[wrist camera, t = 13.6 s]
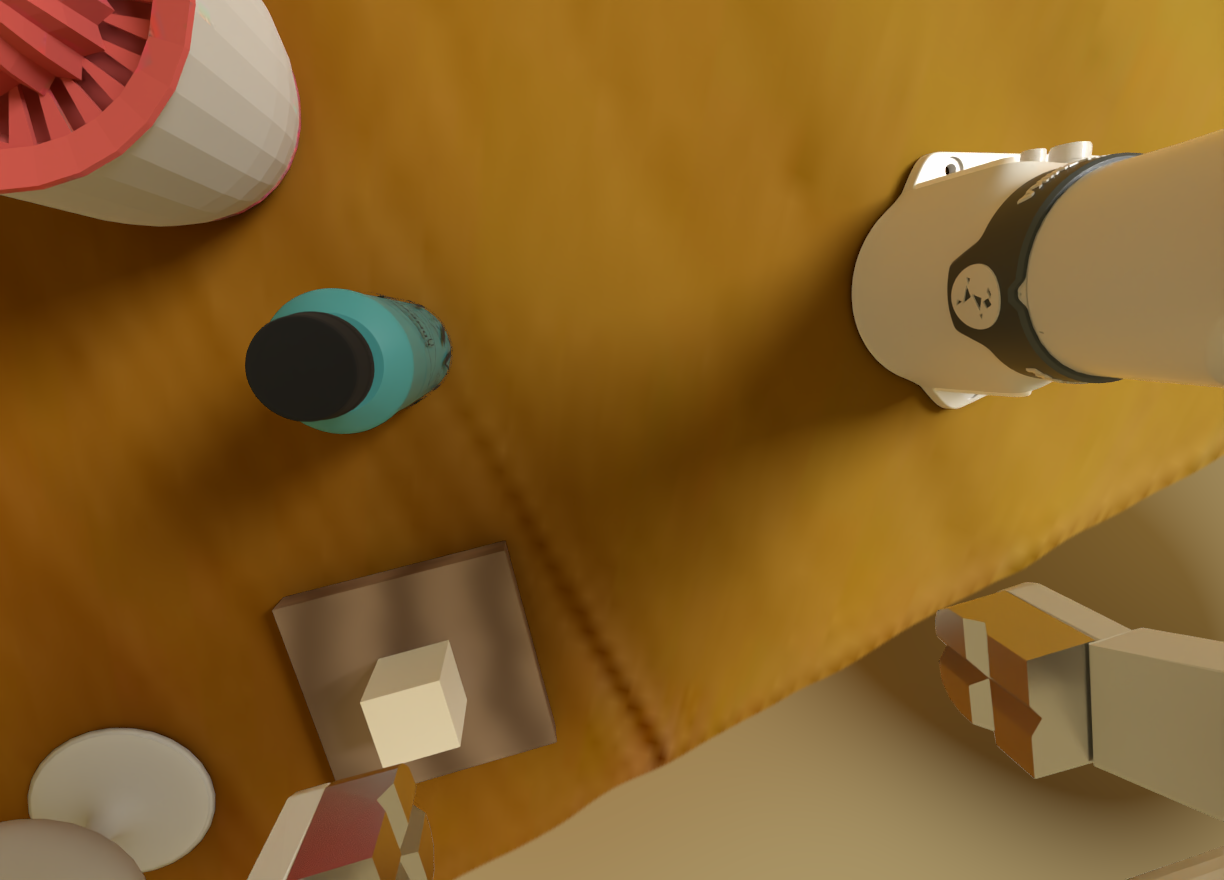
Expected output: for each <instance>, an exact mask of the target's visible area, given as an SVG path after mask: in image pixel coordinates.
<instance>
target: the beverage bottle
mask: <svg viewBox="0 0 1224 880" xmlns="http://www.w3.org/2000/svg"><path fill="white" fill-rule="evenodd" d="M369 293H370V292H369ZM376 294H377V293H376ZM379 295H380V296H377V297H376V296H371V295H364V294H361V293H359V292H355V291H351V290H346V289H338V288H326V289H318V290H314V291H309V292H307V293H304V294H301V295H299V296H297V297H295V298H294V299H292V300H290V301H289V302H287V303H286V304H285V305H283V306H282V307H281V308H280V310H279V311H278V312H277V313H276V314H275V315H274V317H273V318H272V319H271V321H270V322H269V323H268V324H266V325H265V326H264V327H262V328H261V329H260V330H259V331H258V332H257V333H256V335H255V336H254V338H253V339H252V341H251V343H250V345H249V347H248V350H247V354H246V361H245V369H246V376H247V380H248V383H249V385H250V387H251V389H252V391H253V392H254V394H255V395H256V397H257V398H258V399H259V400H260V402H261V403H263V404H264V405H265V406H266V407H267V408H268V409H270V410H271V411H273V412H274V413H276V414H278V415H280V416H282V417H284V418H287V419H290V420H295V421H300V422H302V423H304V424H305V425H308V426H310V427H312V428H314V429H317V430H321V431H324V432H329V433H336V434H352V433H358V432H363V431H366V430H369V429H372V428H374V427H377V426H379V425H380V424H382V423H384V422H385V421H387V420H388V419H389V418H391V417H392V416H393V415H394V414H395V413H396V412H398V411H399V410H401V409H404V408H405V407H407V406H409V405H410V404H412V403H413V402H415V401H416V400H417V401H416V402H415V403H413V404H415V405H416V403H417V402H419V401H421V399H422V400H423V399H424V398H421V397H422V396H424V395H425V394H427V393H429V392H430V391H431V390H432V389H434V390H435V389H436V388H438V387H439V386H440V385H442V384H439V383H440V382H441V381H442V379H443V378H444V376H445V374H446V375H447V376H448V374H449V373H448V374H447V370H450V369H449V363H450V357H451V348H452V346H451V347H450V342H451V341H450V342H449V339H451V338H448V336H450V335H448V336H447V334H446V331H445V329H444V327H443V326H445V325H442V324H441V323H442V322H441V323H440V322H439V321H438V320H437V319H436V317H437V315H436V314H434V313H433V314H434V315H436V317H435V316H433V315H432V314H431V313H430V312H428V311H427V310H425V309H424V308H425V307H423V306H421V305H418V304H413V302H412V301H409V300H408V301H409V302H412V304H411V303H408V302H407V303H406V301H407V300H406V301H405V302H401V301H397V300H398V298H397V300H396V298H394V299H393V300H391V299H392V297H389V299H387V298H388V297H387V298H384V297H383V295H382V296H381V294H379ZM401 300H402V299H401ZM403 300H404V299H403ZM428 310H429V309H428ZM451 343H452V342H451ZM452 349H453V348H452ZM452 359H453V358H452ZM451 365H452V364H451ZM448 372H449V371H448ZM445 377H446V376H445ZM444 379H445V378H444ZM443 381H445V380H443ZM442 383H443V382H442ZM438 384H439V385H438ZM437 385H438V386H437ZM434 390H433V391H434ZM429 394H430V393H429ZM429 394H428V395H429ZM426 397H427V396H425V398H426ZM419 398H420V400H418V399H419ZM413 404H412V405H413ZM410 406H411V405H410ZM407 409H408V408H407ZM396 414H397V413H396Z"/></svg>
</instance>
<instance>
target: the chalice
mask: <svg viewBox="0 0 1224 880" xmlns="http://www.w3.org/2000/svg"><path fill="white" fill-rule="evenodd" d="M28 811H29V815H30V818H31V819H16V820H10V821H4V822H0V880H146V879H145V876H144V875H143V872H148V871H153V870H157V869H159V868H162V867H164V866H167V865H169V864H172V863H174V862H176V861H177V860H179V859H180V858H182V857H183V856H185V855H187V854H188V853H190V852H191V851H192V850H193V849H194V848H195V847H196V846H197V845H198V844H199V843H200V842H201V841H202V839H203V838H204V836H205V834H206V833H207V831H208V829H209V828H210V826H211V823H212V819H213V816H214V812H215V791H214V788H213V784H212V780H211V777H210V776H209V774H208V773H207V771H206V769H205V768H204V766H203V764H202V763H201V762H200V761H199V760H198V759H197V758H196V757H195V756H194V755H193V754H192V753H191V752H190V751H189V750H188V749H186V748H185V747H183V746H182V745H180V744H179V743H177V742H176V741H174V740H172V739H170V738H167V737H165V736H162V735H160V734H157V733H155V732H151V731H145V730H140V729H135V728H107V729H102V730H96V731H90V732H87V733H85V734H82V735H79V736H77V737H74V738H72V739H69V740H68V741H66V742H65V743H63V744H62V745H60V746H59V747H57V748H55V749H54V750H53V751H52V752H51V753H50V754H49V755H48V756H47V757H46V758H45V759H44V760H43V761H42V762H41V763H40V765H39V766H38V768H37V770H36V772H35V774H34V775H33V777H32V779H31V783H30V787H29V791H28Z"/></svg>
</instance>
